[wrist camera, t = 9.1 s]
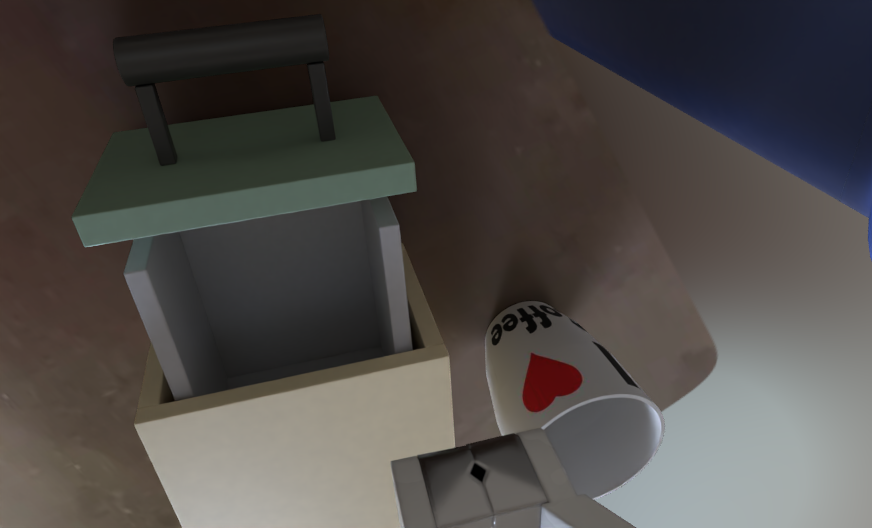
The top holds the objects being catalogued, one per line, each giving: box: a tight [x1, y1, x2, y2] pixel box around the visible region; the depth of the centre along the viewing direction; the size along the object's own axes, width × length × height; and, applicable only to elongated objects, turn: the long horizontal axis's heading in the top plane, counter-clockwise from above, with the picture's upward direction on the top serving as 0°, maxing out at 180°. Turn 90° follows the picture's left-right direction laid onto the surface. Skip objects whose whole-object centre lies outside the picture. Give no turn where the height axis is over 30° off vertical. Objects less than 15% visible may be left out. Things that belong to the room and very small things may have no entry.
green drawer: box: [72, 14, 417, 401], centre depth 27 cm, size 19×12×8 cm, turn 4°
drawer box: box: [134, 243, 455, 528], centre depth 34 cm, size 16×13×10 cm
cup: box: [485, 301, 665, 500], centre depth 36 cm, size 8×8×10 cm
